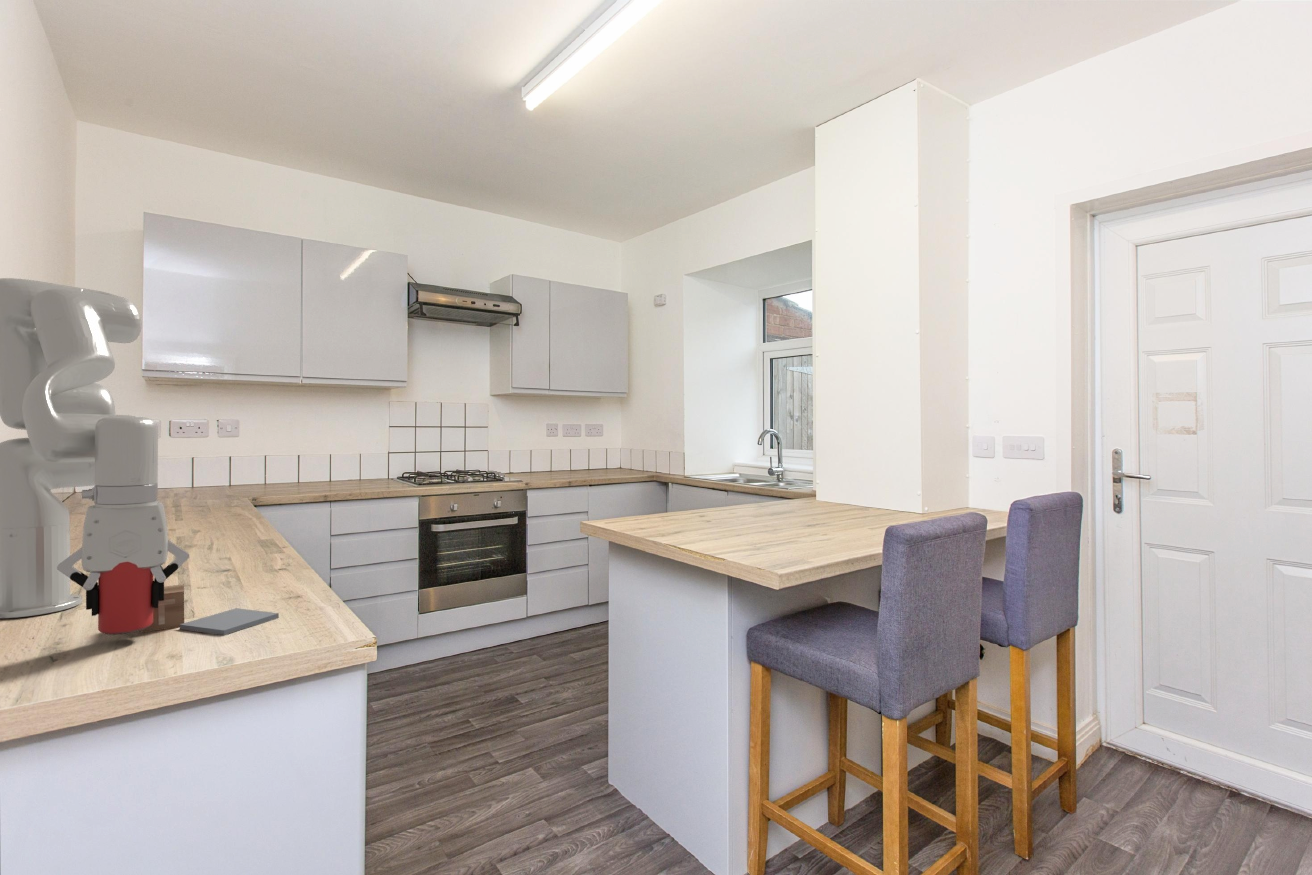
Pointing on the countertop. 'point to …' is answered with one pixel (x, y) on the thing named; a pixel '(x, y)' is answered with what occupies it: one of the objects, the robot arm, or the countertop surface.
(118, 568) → the beer can
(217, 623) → the grey mat
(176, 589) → the letter block
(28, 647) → the countertop surface
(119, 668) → the countertop surface
